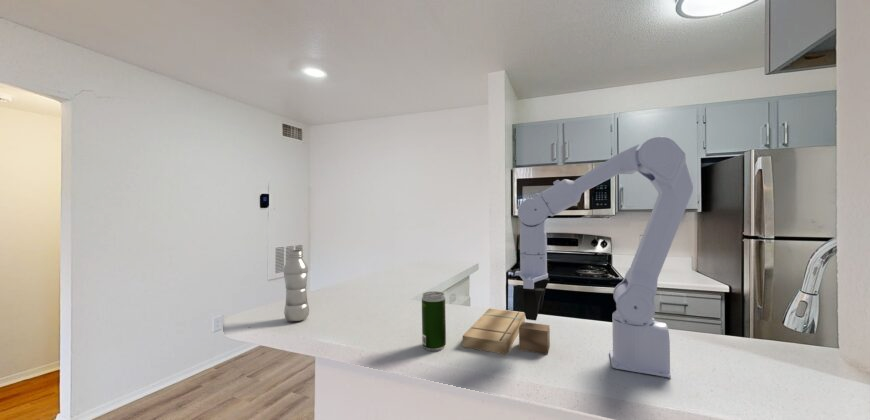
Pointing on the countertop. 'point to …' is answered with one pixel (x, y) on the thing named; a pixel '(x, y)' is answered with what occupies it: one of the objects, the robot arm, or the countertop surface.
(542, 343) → the walnut block
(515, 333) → the oak board
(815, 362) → the countertop surface
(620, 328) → the robot arm
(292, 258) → the plastic bottle
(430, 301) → the beer can
